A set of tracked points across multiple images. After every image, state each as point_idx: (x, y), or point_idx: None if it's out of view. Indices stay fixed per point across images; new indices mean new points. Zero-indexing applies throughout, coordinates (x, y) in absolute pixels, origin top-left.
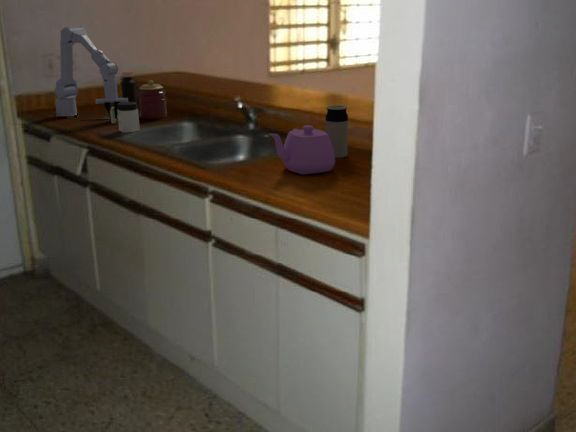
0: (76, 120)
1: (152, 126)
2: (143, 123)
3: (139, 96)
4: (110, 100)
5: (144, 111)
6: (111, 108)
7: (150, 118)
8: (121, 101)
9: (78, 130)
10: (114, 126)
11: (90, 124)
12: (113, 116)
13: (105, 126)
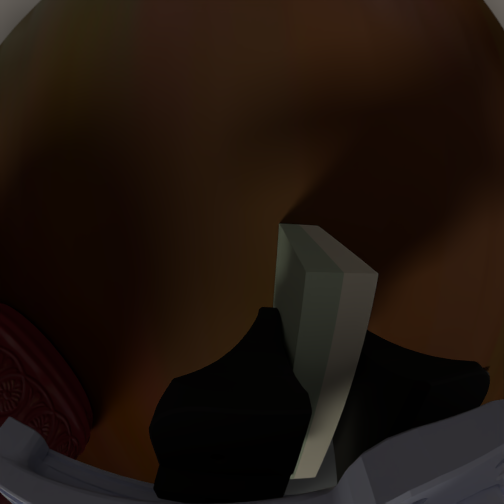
0: (493, 378)
1: (4, 44)
2: (23, 148)
3: (1, 499)
4: (492, 440)
5: (5, 358)
6: (330, 430)
7: (6, 306)
8: (115, 494)
9: (498, 37)
10: (272, 36)
11: (478, 223)
12: (299, 241)
13: (364, 67)
